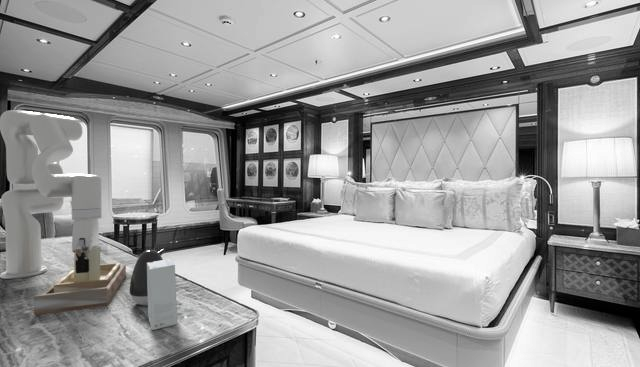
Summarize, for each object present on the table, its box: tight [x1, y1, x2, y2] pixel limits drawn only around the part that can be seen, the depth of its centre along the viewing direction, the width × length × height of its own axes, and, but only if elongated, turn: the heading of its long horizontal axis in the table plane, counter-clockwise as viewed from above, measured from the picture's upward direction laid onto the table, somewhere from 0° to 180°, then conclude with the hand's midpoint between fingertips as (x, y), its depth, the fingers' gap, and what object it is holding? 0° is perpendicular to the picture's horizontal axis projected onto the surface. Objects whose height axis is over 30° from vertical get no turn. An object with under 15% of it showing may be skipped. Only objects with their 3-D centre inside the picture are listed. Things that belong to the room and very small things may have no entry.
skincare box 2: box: [147, 258, 178, 331], centre depth 78 cm, size 8×6×15 cm
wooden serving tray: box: [33, 264, 127, 316], centre depth 98 cm, size 29×16×5 cm, turn 23°
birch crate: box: [53, 262, 121, 293], centre depth 102 cm, size 20×13×4 cm, turn 23°
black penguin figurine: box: [129, 248, 166, 307], centre depth 91 cm, size 10×10×15 cm
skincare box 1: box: [73, 245, 101, 282], centre depth 99 cm, size 6×4×12 cm
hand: (87, 268), depth 99 cm, fingers open, 9 cm apart
